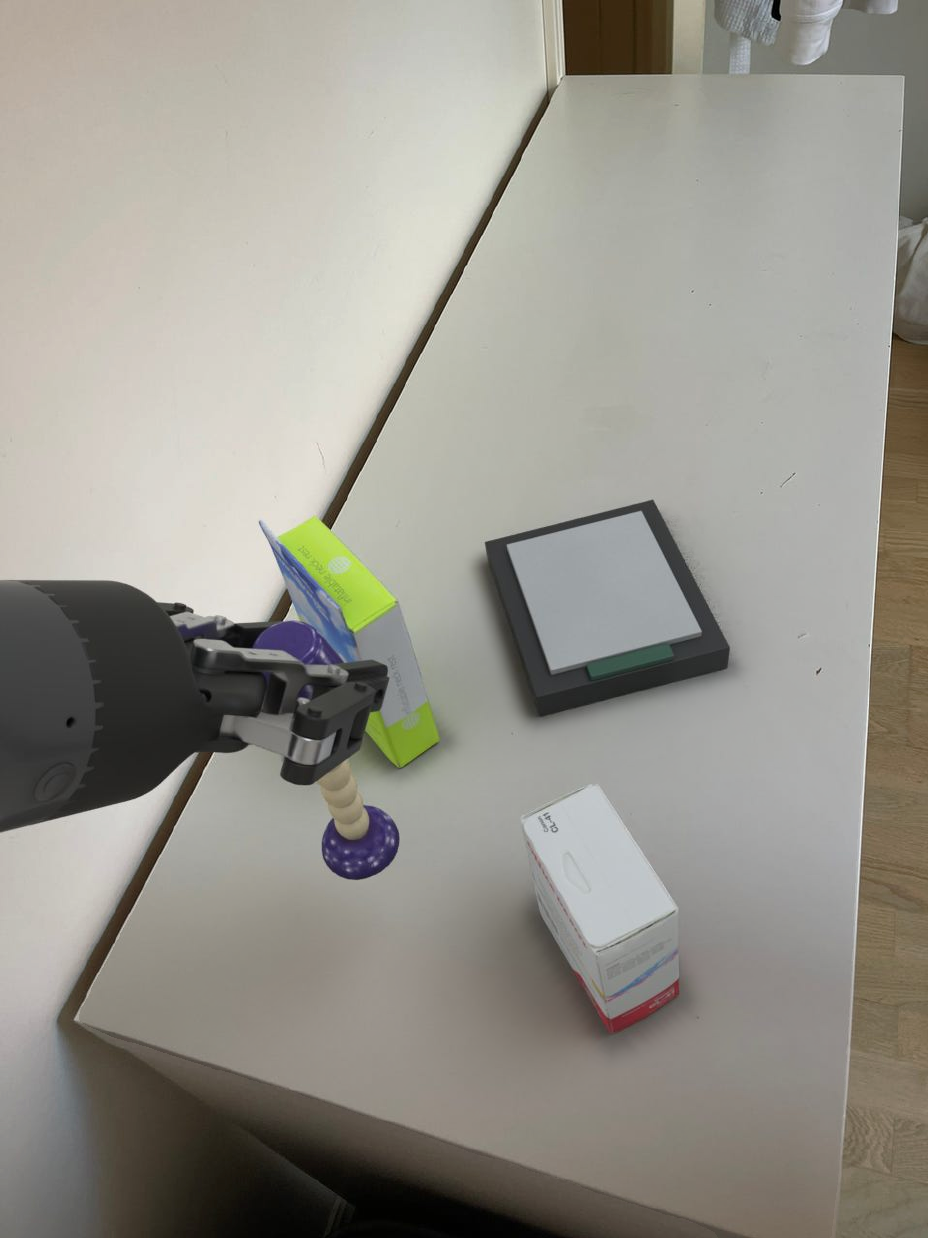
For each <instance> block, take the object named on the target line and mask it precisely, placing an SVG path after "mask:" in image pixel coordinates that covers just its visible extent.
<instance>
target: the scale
mask: <svg viewBox="0 0 928 1238" xmlns="http://www.w3.org/2000/svg"><path fill="white" fill-rule="evenodd" d="M484 547H485V553H486V558H487V564H488V567H489V569H490V572H491V575H492V579H493V582H494V585H495V589H496V591H497V594H498V597H499V600H500V603H501V606H502V609H503V612H504V615H505V619H506V621H507V625H508V627H509V631H510V633H511V636H512V639H513V643H514V646H515V649H516V652H517V654H518V657H519V661H520V664H521V667H522V670H523V672H524V677H525V680H526V682H527V686H528V688H529V692H530V694H531V698H532V700H533V703H534V706H535V710H536V713H537V715H538V717H544V716H548V715H551V714H552V715H553V714H555V713H558V712H559V713H560V712H562V711H567V710H571V709H575V708H578V707H583V706H586V705H589V704H594V703H597V702H600V701H605V700H610V699H612V698H616V697H621V696H625V695H628V694H632V693H636V692H640V691H644V690H648V689H652V688H655V687H659V686H663V685H666V684H671V683H674V682H679V681H682V680H687V679H689V678H694V677H698V676H702V675H705V674H709V673H714V672H717V671H721V670H724V669H728V668H729V661H730V660H729V658H730V652H731V651H730V649H731V646H730V645H729V643H728V640H727V638H726V637H725V635H724V633H723V632H722V631H723V630H722V629H721V628H720V626H719V624H718V623H719V622H717V620H716V617H715V616H714V614H713V612H712V610H711V608H710V606H709V605H708V602H707V600H706V598H705V597H704V595H703V592H702V591H701V589H700V587H699V584H698V583H697V581H696V579H695V577H694V576H693V573H692V571H691V570H690V568H689V565H688V564H687V562H686V559H685V558H684V556H683V554H682V552H681V550H680V548H679V546H678V545H677V543H676V541H675V539H674V537H673V535H672V533H671V531H670V529H669V527H668V525H667V523H666V521H665V519H664V518H663V515H662V514H661V511H660V510H659V508H658V506H657V504H656V502H655V500H654V499H650V500H646V501H642V502H638V503H634V504H629V505H625V506H621V507H618V508H614V509H610V510H605V511H602V512H598V513H594V514H589V515H586V516H583V517H582V516H581V517H579V518H574V519H571V520H566V521H563V522H558V523H555V524H550V525H546V526H543V527H539V528H534V529H530V530H526V531H523V532H517V533H514V534H510V535H507V536H506V535H505V536H503V537H499V538H495V539H491V540H487V541H485V542H484Z"/></svg>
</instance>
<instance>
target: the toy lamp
mask: <svg viewBox="0 0 928 1238" xmlns="http://www.w3.org/2000/svg"><path fill="white" fill-rule="evenodd" d="M252 649H265V650H282V651H286V652H287V653H289V654H290V655H292V656H293V657H295V658H297V659H298V660H300V661H301V662H303V663H304V664H315V665H330V664H338V663H344V661H343V660H342V659H341V658H340V656H339V655H338V654H337V653H336V651H335V650H334V649H333V648H332V646H331V645H330V644H329V643H328V642H327V641H326V639H325V638H324V637H323V636H322V635H321V633H320V632H319V631H318V630H317V629H315V628H314V627H313V626H311V625H310V624H307V623H305V622H301V621H300V620H285V621H283V622H280V623H277V624H275V625H273V626H271V627H269V628H267V629H266V630H265V631H264V632H262V633H261V634H260V635H259V637H258V638H257V639H256V641H255V643H254V645H253V648H252ZM262 673H263V674H264V676H265V678H266V681H267V684H268V680H269V676H270V673H269V672H262ZM313 689H314V685H307V686H305V687H303V688H302V690H301V692H300V695H299V698H307V699H309V700H311V696H312V693H313ZM316 782H317V784H318V785H319V786H320V793H321V795H322V798H323V799H324V801H325V802H326V803H327V809H328V812H329V814H330V815H331V817H332V818H331V819H330V820H329V822H328V823H327V825H326V827H325V829H324V831H323V834H322V839H321V854H322V859H323V861H324V863H325V865H326V867H327V868H328V869H329V870H330V871H331V872H332V873H333V874H335V875H336V876H338V877H340V878H343V879H345V880H352V881H360V880H365V879H368V878H371V877H373V876H376V875H378V874H380V873H382V872H383V871H384V870H385V869H387V868H388V867H390V865H391V863H392V862H394V859H395V857H396V856H397V854H398V852H399V847H400V841H401V840H400V832H399V828H398V826H397V824H396V823H395V821H394V819H393V818H392V817H391V816H390V814H388V813H387V812H385V811H384V810H382V809H381V808H379V807H376V806H373V805H369V804H364V800H363V797H362V795H361V793H360V792H359V790H358V789H359V787H358V782H357V779H356V777H355V776H354V775H353V773H352V766H351V764H350V761H349V758H348V759H346V760H345V761H344V762H342V763H341V764H340V765H338V766H337V767H335V768H334V769H333V770H331V771H330V772H329V773H327V774H326V775H325V776H323V777H322V778H320V779H319V780H318V781H316Z"/></svg>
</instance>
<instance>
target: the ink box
mask: <svg viewBox="0 0 928 1238" xmlns="http://www.w3.org/2000/svg"><path fill="white" fill-rule="evenodd" d="M519 822H520V825H521V831H522V835H523V839H524V840H523V841H524V844H525V849H526V853H527V854H526V855H527V859H528V864H529V868H530V871H531V877H532V881H533V887H534V890H535V891H534V892H535V895H536V901H537V905H538V910H539V912H540V913H539V914H540V916H541V918H542V919H543V922H544V923H545V925H546V926H547V928H548V930H549V931H550V933H551V935H552V937H553V939H554V940H555V942H556V943H557V945H558V947H559V948H560V951H561V952H562V954H563V955H564V957H565V959H566V961H567V963H568V964H569V966H570V968H571V969H572V971H573V973H574V974H575V976H576V978H577V979H578V981H579V982H580V985H581V986H582V987H583V989H584V991H585V993H586V994H587V996H588V998H589V999H590V1002H591V1004H592V1005H593V1006H594V1008H595V1010H596V1011H597V1013H598V1016H599V1017H600V1019H601V1020H602V1022H603V1024H604V1025H605V1027H606V1029H607V1032H609V1033H610V1034H615V1033H618V1032H621V1031H623V1030H624V1029H627V1028H628V1027H630V1026H632V1025H634V1024H636V1023H637V1022H639V1021H641V1020H643V1019H644V1018H646V1017H648V1016H650V1015H651V1014H653V1013H654V1012H656V1011H657V1010H659V1009H660V1008H662V1007H664V1006H665V1005H667V1003H670V1002H671V1001H672V1000H673V999H675V998H676V997H678V996H679V995H680V972H679V971H680V969H679V968H680V967H679V966H680V965H679V911H680V908H679V907H678V905H677V904H676V902H675V901H674V898H672V896H671V895H670V893H669V891H668V890H667V888H666V886H665V885H664V883H663V881H662V880H661V879H660V877H659V875H658V874H657V873H656V871H655V870H654V868H653V866H652V865H651V863H650V862H649V860H648V859H647V857H646V855H644V853H643V851H642V849H641V848H640V846H639V845H638V843H637V842H636V840H635V838H633V836H632V834H631V833H630V831H629V830H628V828H627V827H626V825H625V824H624V822H623V821H622V819H621V817H620V816H619V815H618V813H617V811H616V809H615V808H614V807H613V805H612V804H611V802H610V800H609V799H608V798H607V795H606V794H605V793H604V791H603V790H602V788H601V787H600V786H599V784H598V783H595V782H594V783H590V784H587V785H584V786H583V787H580V788H576V789H574V790H573V791H570V792H569V793H566V794H563V795H562V796H559V797H557V798H555V799H553V800H551V801H549V802H547V803H544V804H543V805H541V806H538V807H537V808H534V809H533V810H530V811H528V812H527V813H524V814H522V815H519Z"/></svg>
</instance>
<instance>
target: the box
mask: <svg viewBox="0 0 928 1238" xmlns="http://www.w3.org/2000/svg"><path fill="white" fill-rule="evenodd" d="M258 524H259V527H260V529H261V531H262V533H263V534H264V536H265V538H266V540H267V542H268V544H269V546H270V548H271V551H272V553H273V556H274V558H275V561H276V563H277V565H278V568H279V571H280V573H281V576H282V578H283V581H284V584H285V586H286V589H287V591H288V594H289V597H290V600H291V602H292V604H293V607H294V610H295V613H296V615H297V617H298V621H301V622H305V623H307V624H310V625H311V626H313V627H314V628H315V629H317V630H318V631H319V632H320V633H321V635H322V636H323V637H324V638H325V639H326V641H327V642H328V643H329V644H330V645H331V646H332V648H333V649H334V650H335V651H336V653H337V654H338V655H339V656H340V658H341V659H342V660H343V661H344V663H347V662H355V661H363V660H375V661H377V662H380V663H382V664H384V665H386V666H387V667H388V674H387V677H389V678H390V679H389V682H388V686H387V690H386V693H385V697H384V701H383V704H382V708H381V709H380V710H379V711H376V712H371V713H370V714H369V718H368V722H367V725H366V729H365V733H367V734H368V735H369V737H370V738H371V739H372V740H373V742H374V743H375V744H376V745H377V746H378V748H379V750H381V752H382V753H383V754H384V755H385V756H386V757H387V759H388V760H389V761H390V762H391V763H392V764H394V765H395V766H396V767H397V768H398V769H402V768H403V767H405V766H406V765H408V763H410V762H411V761H413V760H414V759H416V758H417V757H418V756H420V755H421V754H422V753H424V752H425V751H427V750H428V749H430V748H431V747H432V746H434V745H436V744H437V743H439V742H440V735H439V732H438V728H437V724H436V721H435V718H434V714H433V710H432V707H431V704H430V701H429V697H428V694H427V690H426V687H425V684H424V683H425V682H424V680H423V676H422V673H421V670H420V666H419V664H418V660H417V657H416V654H415V650H414V647H413V644H412V640H411V637H410V634H409V631H408V626H407V624H406V621H405V619H404V618H405V617H404V614H403V610H402V607H401V604H400V602H399V600H398V598H397V597H396V596H394V595H393V593H392V592H391V591H390V590H389V589H388V588H387V587H386V586H385V584H383V582H382V581H380V580H379V578H378V577H377V576H376V575H375V574H374V573H373V572H372V571H371V570H370V569H369V568H368V567H367V566H366V564H364V563H363V562H362V561H361V559H360V558H358V556H356V555H355V554H354V552H353V551H352V550H350V548H349V547H348V546H346V544H345V543H344V542H343V541H342V540H341V539H340V538H339V537H338V536H337V535H336V534H335V533H334V532H333V531H332V530H331V529H330V528H329V527H328V526H327V525H326V524H325V523H324V522H323V521H321V520H320V519H319V518H318V517H317V516H315V515H314V516H311V517H310V518H308V519H307V520H305V521H304V522H302V523H300V524H299V525H297V526H295V527H293V528H291V529H290V530H288V531H286V532H284V533H282V534H280V535H278V536H276V535H275V534H274V532H273V531H272V530H271V529H270V528H269V527H268V525H266V523H265V522H264V521H263V520H262V519H258Z"/></svg>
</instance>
